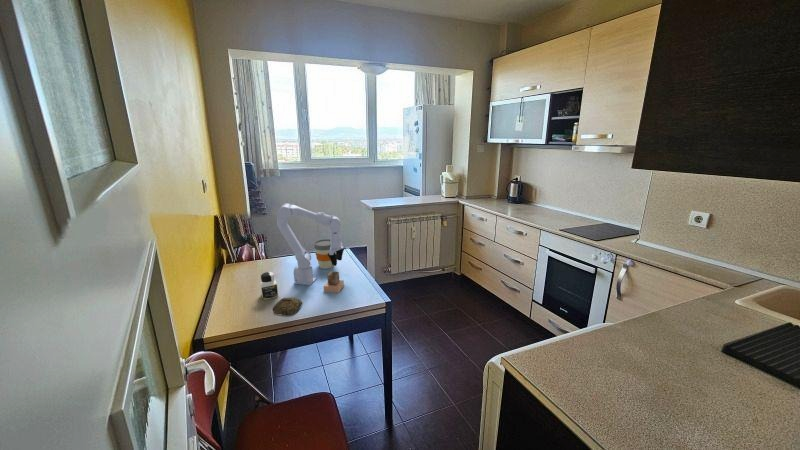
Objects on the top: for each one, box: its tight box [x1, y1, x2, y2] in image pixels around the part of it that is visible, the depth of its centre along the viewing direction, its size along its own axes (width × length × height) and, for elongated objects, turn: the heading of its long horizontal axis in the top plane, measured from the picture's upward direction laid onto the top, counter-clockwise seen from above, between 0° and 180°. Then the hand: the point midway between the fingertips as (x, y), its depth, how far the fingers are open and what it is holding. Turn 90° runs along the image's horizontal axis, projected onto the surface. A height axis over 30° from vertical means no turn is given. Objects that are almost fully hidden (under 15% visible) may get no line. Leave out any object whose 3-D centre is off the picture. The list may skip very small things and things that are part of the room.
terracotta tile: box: [323, 279, 345, 294], centre depth 173 cm, size 8×8×3 cm
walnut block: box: [327, 271, 340, 285], centre depth 172 cm, size 4×4×6 cm
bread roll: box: [271, 296, 303, 317], centre depth 154 cm, size 13×12×5 cm
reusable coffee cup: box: [314, 238, 336, 269], centre depth 201 cm, size 12×13×15 cm
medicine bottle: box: [259, 271, 279, 301], centre depth 165 cm, size 7×7×12 cm
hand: (337, 262), depth 181 cm, fingers open, 7 cm apart
